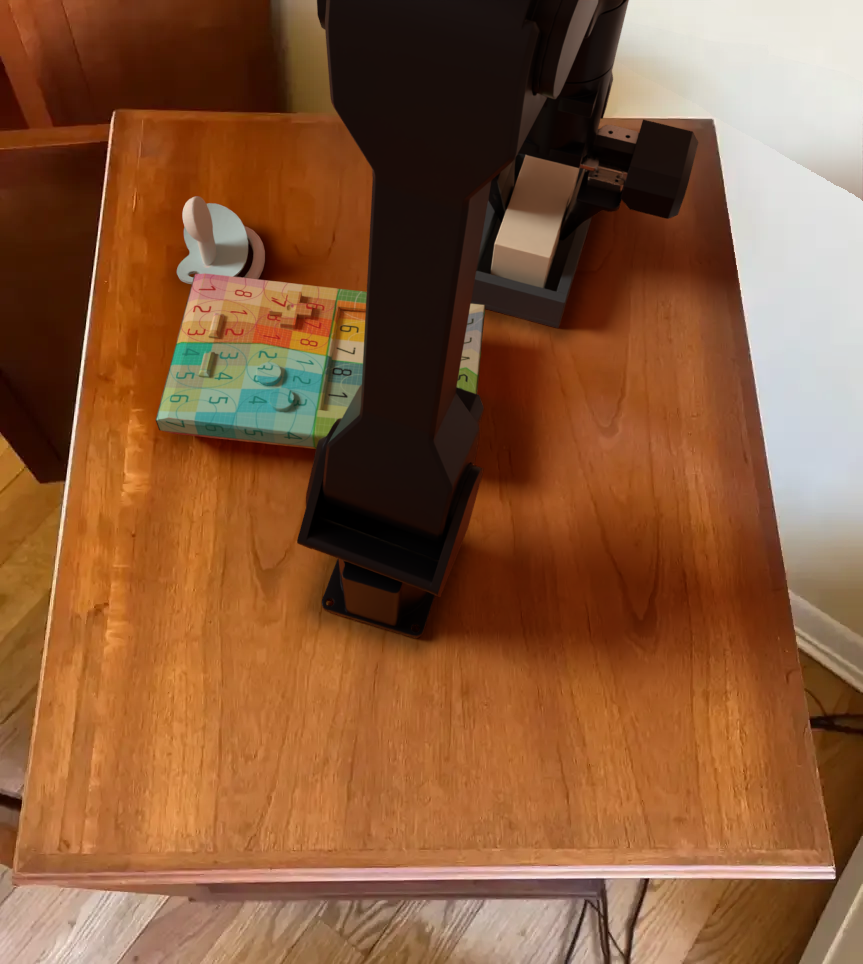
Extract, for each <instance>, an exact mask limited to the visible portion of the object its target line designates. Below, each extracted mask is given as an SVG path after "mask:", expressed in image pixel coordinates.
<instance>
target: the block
mask: <svg viewBox="0 0 863 964" xmlns="http://www.w3.org/2000/svg"><path fill="white" fill-rule="evenodd" d="M579 169H580V168H575V167H571V166H567V165H563V164H559V163H555V162H551V161H547V160H543V159H539V158H535V157H531V156H527V155H526V156H525V159H524V161H523V164H522V167H521V170H520V173H519V176H518V178H517V181H516V184H515V187H514V190H513V193H512V195H511V198H510V201H509V204H508V207H507V210H506V213H505V215H504V218H503V221H502V224H501V227H500V230H499V232H498V235H497V238H496V241H495V244H494V252H493V259H492V266H491V273H490V274H492V275H495V276H499V277H503V278H507V279H510V280H514V281H518V282H522V283H526V284H529V285H533V286H537V287H541V288H545V285H546V282H547V279H548V275H549V272H550V269H551V266H552V263H553V259H554V256H555V253H556V250H557V247H558V243H559V235H560V229H561V226H562V223H563V220H564V217H565V213H566V210H567V208H568V205H569V203H570V200H571V198H572V196H573V193H574V191H575V187H576V182H577V178H578V173H579Z"/></svg>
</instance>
